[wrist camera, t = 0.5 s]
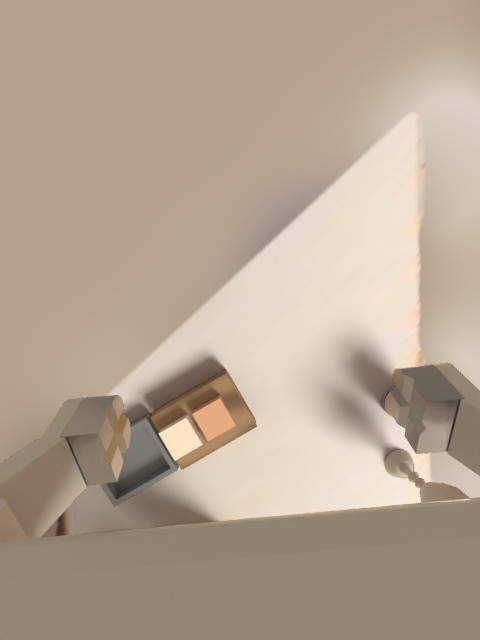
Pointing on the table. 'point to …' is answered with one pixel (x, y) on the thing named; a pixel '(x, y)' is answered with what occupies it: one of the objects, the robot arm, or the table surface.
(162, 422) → the walnut board
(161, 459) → the charcoal tray
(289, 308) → the table surface
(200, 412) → the peach rectangular prism
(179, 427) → the cream block
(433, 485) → the chalice
